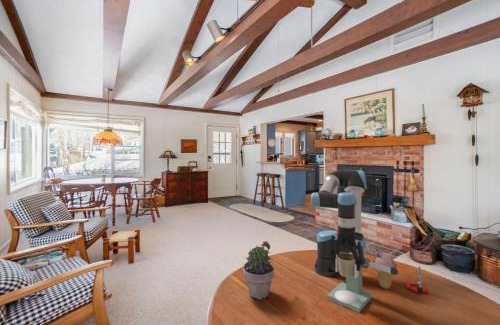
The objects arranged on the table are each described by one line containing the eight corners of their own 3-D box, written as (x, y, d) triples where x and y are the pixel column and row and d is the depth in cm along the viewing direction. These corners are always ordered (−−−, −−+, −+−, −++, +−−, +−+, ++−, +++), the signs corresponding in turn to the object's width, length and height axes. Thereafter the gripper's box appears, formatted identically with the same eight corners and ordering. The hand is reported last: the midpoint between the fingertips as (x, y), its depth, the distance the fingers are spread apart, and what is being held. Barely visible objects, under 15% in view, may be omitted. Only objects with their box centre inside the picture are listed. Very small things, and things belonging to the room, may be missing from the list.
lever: (359, 266, 116) (359, 258, 116) (362, 264, 118) (362, 256, 118) (396, 278, 105) (396, 268, 105) (398, 275, 107) (398, 266, 107)
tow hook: (402, 283, 129) (411, 292, 120) (402, 259, 130) (411, 266, 120) (419, 285, 128) (430, 294, 119) (419, 260, 128) (429, 267, 119)
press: (326, 299, 115) (326, 259, 115) (341, 285, 127) (341, 249, 127) (358, 313, 105) (358, 269, 104) (372, 297, 117) (372, 257, 116)
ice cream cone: (387, 294, 119) (387, 254, 118) (368, 284, 129) (368, 246, 128) (401, 288, 124) (401, 250, 123) (382, 279, 133) (382, 243, 133)
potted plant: (233, 302, 114) (232, 250, 114) (248, 282, 132) (247, 237, 132) (270, 310, 108) (269, 255, 107) (280, 287, 126) (279, 240, 126)
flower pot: (356, 271, 117) (356, 253, 116) (358, 281, 108) (358, 261, 107) (336, 268, 120) (335, 251, 119) (336, 278, 111) (336, 259, 111)
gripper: (321, 223, 118) (322, 269, 118) (367, 232, 103) (367, 285, 104) (329, 220, 123) (329, 264, 124) (373, 228, 108) (373, 278, 109)
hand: (346, 273), depth 114 cm, fingers closed on flower pot, 8 cm apart
